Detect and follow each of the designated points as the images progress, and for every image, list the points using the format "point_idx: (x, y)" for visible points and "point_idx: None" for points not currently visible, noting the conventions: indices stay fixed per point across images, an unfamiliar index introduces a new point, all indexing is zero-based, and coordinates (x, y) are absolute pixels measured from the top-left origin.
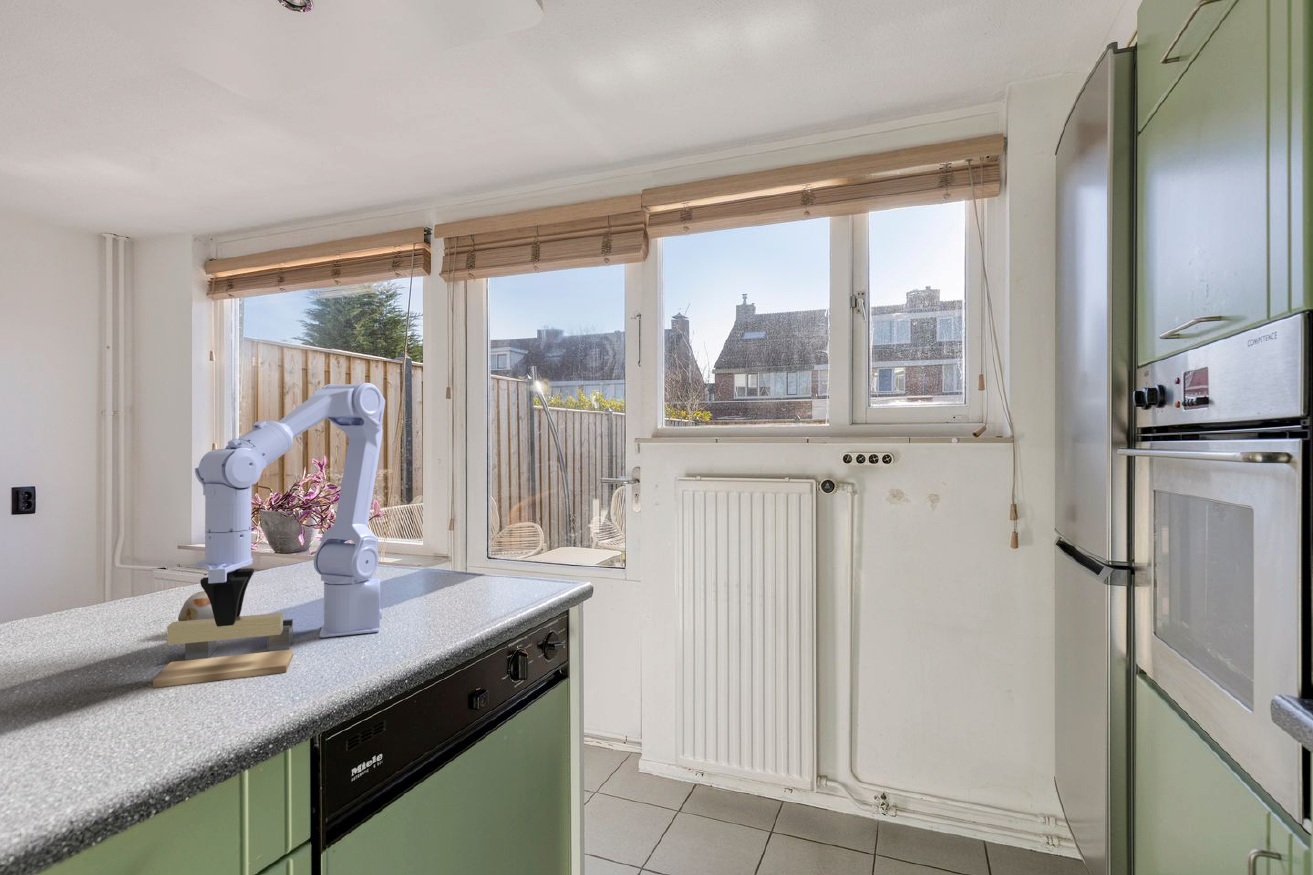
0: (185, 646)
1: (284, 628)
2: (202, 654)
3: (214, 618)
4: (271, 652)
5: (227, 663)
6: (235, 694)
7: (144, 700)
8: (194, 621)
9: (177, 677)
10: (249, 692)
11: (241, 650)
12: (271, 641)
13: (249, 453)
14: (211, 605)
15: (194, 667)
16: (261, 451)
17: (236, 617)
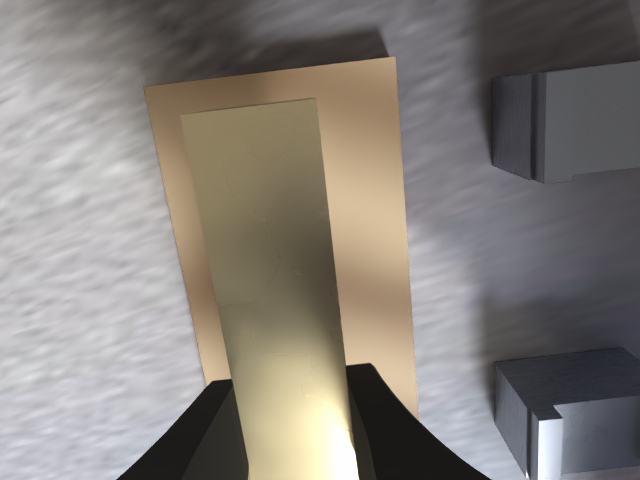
0: (519, 76)
1: (535, 473)
2: (498, 147)
3: (193, 402)
4: None
5: None
6: (43, 388)
7: (18, 115)
8: (290, 245)
9: (167, 172)
10: (56, 421)
11: (561, 261)
12: (510, 397)
13: None
14: (131, 466)
15: None
16: None
17: (333, 448)
